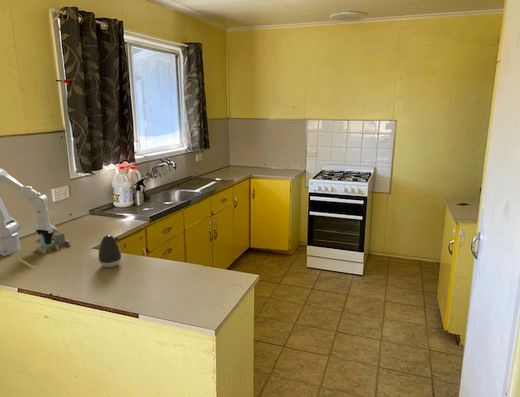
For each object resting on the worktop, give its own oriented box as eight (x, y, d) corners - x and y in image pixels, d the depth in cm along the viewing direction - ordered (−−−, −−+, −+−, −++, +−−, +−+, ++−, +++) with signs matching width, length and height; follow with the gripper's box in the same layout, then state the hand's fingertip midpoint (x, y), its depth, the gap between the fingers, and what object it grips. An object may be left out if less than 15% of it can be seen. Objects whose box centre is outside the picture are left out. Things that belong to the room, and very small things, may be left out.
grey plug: (58, 248, 206) (56, 235, 204) (54, 246, 208) (52, 234, 206) (65, 245, 209) (64, 233, 207) (62, 244, 211) (60, 232, 209)
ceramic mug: (45, 241, 217) (44, 228, 215) (42, 238, 223) (40, 225, 221) (66, 237, 224) (64, 225, 222) (62, 234, 230) (60, 221, 228)
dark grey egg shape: (115, 270, 180) (111, 239, 176) (94, 268, 182) (91, 238, 178) (126, 262, 189) (123, 232, 186) (107, 260, 191) (104, 231, 188)
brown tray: (44, 255, 198) (43, 249, 197) (36, 251, 203) (35, 245, 202) (71, 247, 209) (70, 241, 208) (63, 243, 214) (62, 238, 213)
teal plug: (44, 248, 200) (42, 235, 198) (41, 246, 202) (39, 233, 201) (52, 246, 203) (50, 233, 201) (48, 244, 205) (47, 231, 204)
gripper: (57, 219, 198) (61, 244, 201) (44, 214, 206) (48, 238, 210) (43, 222, 192) (46, 247, 196) (30, 217, 201) (34, 241, 204)
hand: (46, 243), depth 202 cm, fingers closed on teal plug, 4 cm apart
